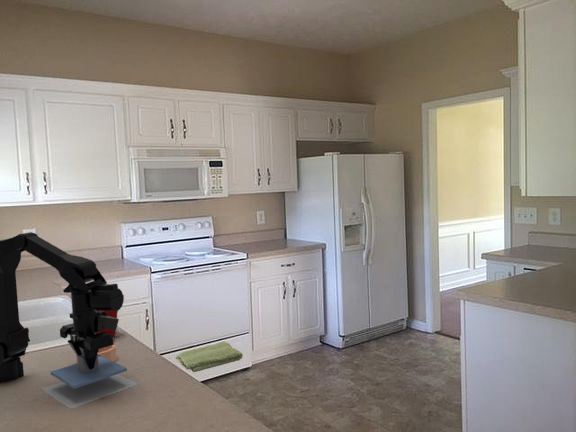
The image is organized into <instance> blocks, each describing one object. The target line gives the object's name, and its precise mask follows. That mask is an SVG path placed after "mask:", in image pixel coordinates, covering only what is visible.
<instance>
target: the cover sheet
mask: <svg viewBox="0 0 576 432" xmlns="http://www.w3.org/2000/svg"><path fill="white" fill-rule="evenodd" d="M124 372H128V369H127V367H125V366H124V365H121V364H119V363H117V362H116V361H115V362H113V361H111V360H109V359H106V358H104V357H102V356H100V357H98V354H97V357H96V361H95V365H94V368H93V369H89V368H88V366H87V364H86V361H85V359H84V357H83V355H79V356H78V363H77V362H76V363H75V364H71V365H68V366H65V367H64V366H63V367H61V368H58V369H55V370H51V371H50V375H51V376H52V377H53V378H56V379H57V380H59V381H60V382H64V383H65V384H67V385H69V386H70V387H72V388H74V389H75V388H78V387H81V386H84V385H87V384H90V383H93V382H96V381H99V380H102V379H105V378H108V377H111V376H114V375H117V374H119V375H120V374H122V373H124Z"/></svg>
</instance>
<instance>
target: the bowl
mask: <svg viewBox="0 0 576 432" xmlns="http://www.w3.org/2000/svg"><path fill="white" fill-rule="evenodd" d="M117 352H118V351H117V344H116V343H114V345H111V346H108V347H104V348H101V349H99V351H98V357H100V356H102V357H104V358H106V359H109V360H111V361H113V362H115V363H116V362H117V360H118V359H117V356H118V354H117ZM75 356H76V358H75V359H76V364H77V363H78V357H77V355H76V354H75Z"/></svg>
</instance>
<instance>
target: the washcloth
mask: <svg viewBox="0 0 576 432" xmlns="http://www.w3.org/2000/svg"><path fill="white" fill-rule="evenodd" d="M243 355H244V354H243V352H240V351H239V350H237V348H234V347H233V346H232V345H231V344H230V343H229V342H226V341H220V342H217V343H215V344H209V345H206V346H203V347H199V348H194V349H190V350H185V351H182V352H181V353H179V354H177V355H176V356H175V359H176V360H177V361H178V363H179V364H181V365H182V367H183V368H185V369H186V370H189V371H192V373H197V372H201V371H204V370H208V369H211V368H216V367H219V366H223V365H227V364H230V363H234V362H239V361H240V360H241V359H243Z"/></svg>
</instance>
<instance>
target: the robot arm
mask: <svg viewBox="0 0 576 432" xmlns="http://www.w3.org/2000/svg"><path fill="white" fill-rule="evenodd" d="M23 252H27V253H28V254H30V255H32V256H33V257H36V258H37V259H39V260H40V261H42V262H43V263H46V264H47V265H49V266H51V267H52V268H54V269H55V270H57V271H58V274H59V276H60V278H62V279H63V280H64V281H65V282H66V283H68V285H67V286H66V287H65V288H64V289H63V291H62V292H63V293H66V294H67V293H68V294H69V293H70V295H71V296H70V298H71V310H72V311H71V313H69V319H72V323H69V324H64V325H62V326H61V328H60V329H59V335H60V336H59V337H61V338H63V339H66V338H68V335H69V336H70V337H69V339H68V340H67V343H68V344H69V346H70V347H71V349H72V351H73V352H74V354H75V356H76V355H77V357H78V356H79V355H83V357H84V359H85V361H86V364H87V366H88V368H89V369H93V368H94V365H95V361H96V357H97V354H98V351H99V349H101V348H104V347H108V346H111V345H114V344H115V340H114V339H115V337H113V336H112V335H110V334H108V333H106V332H101V331H103V329H109V330H112V331H115V332H116V331H117V327H118V324H119V320H120V319H119V318H118V317H117V318H114V317H110V316H107V312H104V311H118V312H119V310H121V308H122V307H123V305H124V301H125V297H124V294H123V291H122V289H121V288H119V287H118V283H108V282H107V280H106V279H105V277H104V276H103V275H102V273H101V271H100V270H99V269H98V268H97V264H96V262H95V261H93V260H91V259H89V258H86V257H83V256H79V255H74V254H70V253H67V252H66V251H65V250H62V249H61V248H59V247H57V246H56V245H53V244H52V243H51V242H48V241H47V240H46V239H43V238H42V237H40V236H38V234H37V233H36V232H32V231H30V232H24V233H19V234H17V235H16V236H13V237H10V238H6V239H0V384H3V383H10V382H13V381H16V380H18V379H19V378H23V377H25V371H24V363H23V361H21V357H23V356H25V355H26V350H27V348H28V347H29V342H31V339H30V336H29V332H30V330H29V328H28V327H24V326H23V325H22V323H21V321H20V314H19V313H20V312H19V300H18V299H19V298H18V288H17V287H18V286H17V275H16V271H17V268H18V267H19V264H20V262H21V260H22V259H21V257H22V253H23ZM96 310H104V311H96ZM96 332H101V333H97V334H96Z"/></svg>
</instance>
